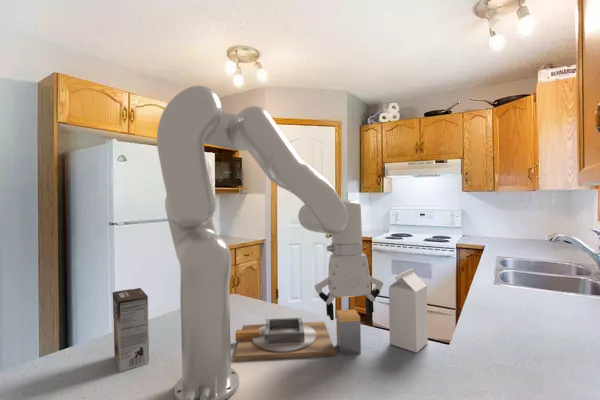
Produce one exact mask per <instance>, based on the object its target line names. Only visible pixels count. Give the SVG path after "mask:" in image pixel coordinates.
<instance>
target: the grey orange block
mask: <svg viewBox="0 0 600 400" xmlns="http://www.w3.org/2000/svg"><path fill="white" fill-rule="evenodd" d="M335 313H336V314H335V315H336V318H335V320H336V322H335V323H336V346H337V349H338V352H339V354H340V355H341V356H343V355H355V354H356V355H358V354H362V346H361V344H362V343H361V341H362V340H361V338H362V337H361V333H362V332H361V316H360V314H359V313H358V311H357V310H356V309H338V310H336V312H335Z"/></svg>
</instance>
